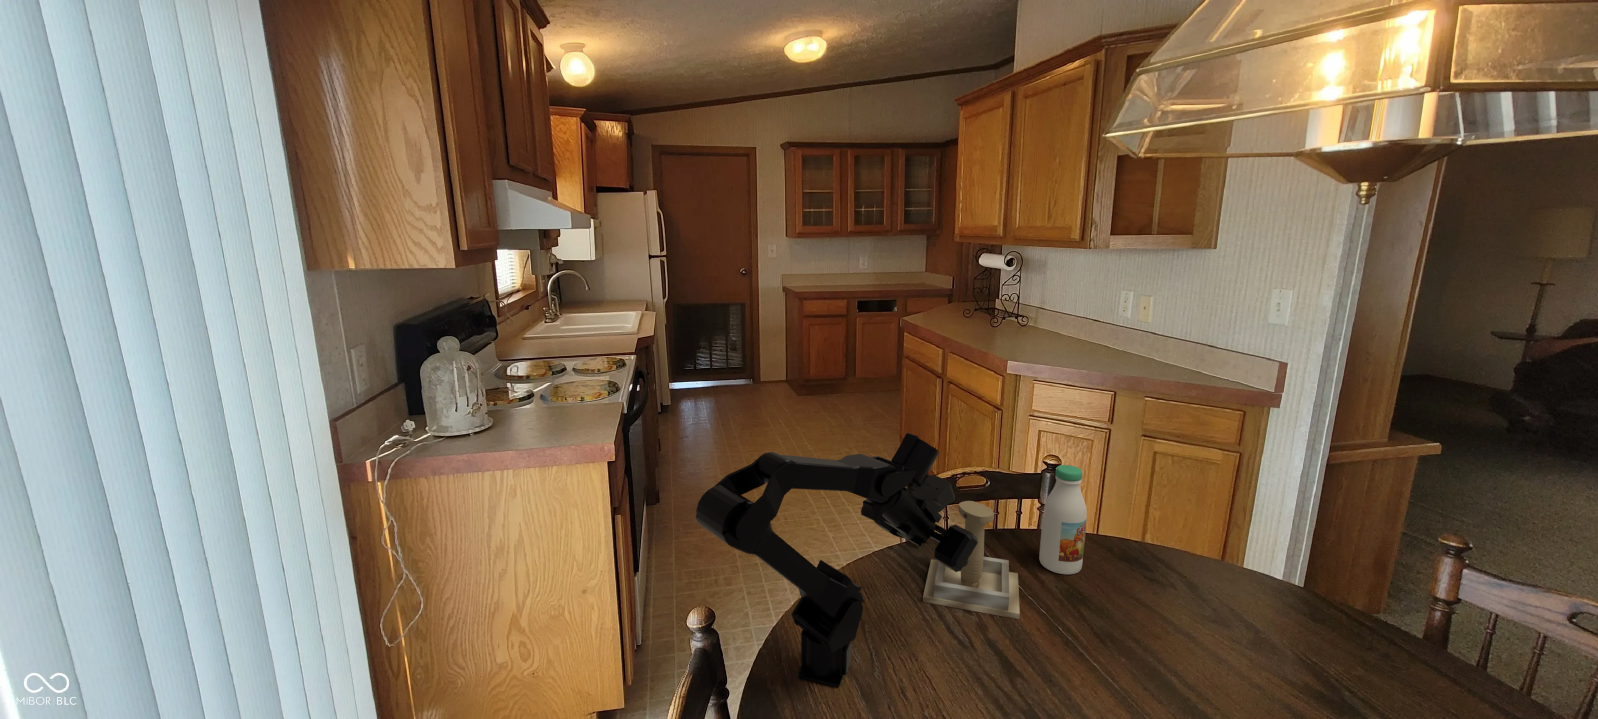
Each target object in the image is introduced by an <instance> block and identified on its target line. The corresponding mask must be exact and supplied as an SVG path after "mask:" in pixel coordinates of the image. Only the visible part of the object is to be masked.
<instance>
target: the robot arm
mask: <svg viewBox="0 0 1598 719" xmlns="http://www.w3.org/2000/svg"><path fill="white" fill-rule="evenodd" d="M939 454H940V452H939V451H938V449H937V448H936V447H934V446H933V445H930V443H928V442H926V441H924V440H923V439H920V437H919V436H918V435H916V434H914V433H910V432H907V433H905V435H904V437H903V439H902V441H901V443H900V445H899V447H898V448H897V450H896V452H895V453H894V455H893V457H892V458H891V460H890V459H887V458H884V457H882V456H878V455H876V456H868V455H866V454H864V453H856V454H849V455H848V454H847V455H845V456H843V457H842V458H839V459H831V458H830V459H828V458H820V457H819V458H818V457H817V458H816V457H808V456H798V455H797V456H796V455H790V454H789V455H787V454H786V455H785V454H780V453H777V452H774V451H771V452H770V451H769V452H764V453H763V454H761V455H759V457H758V458H756V459H755V460H754V461H753V462H752V463H751V464H748V465H746V466H744V467H742V468H740V469H737V470H735V471H733V472H731V473H728V474H726V475H725V476H724V477H723V478H722V479H720V481H719V482H717V483H716V484H715V485H714V486H711V488H709V489H707V490H706V491H705V492H704V493H703V495H702V496H701V497H700V499H699V500H698V502H697V506H696V509H695V510H696V515H695V519H696V522H697V523H698V524H699V526H701V527H702V528H704V530H707V531H708V532H709V533H711V535H714V536H715V537H717V538H718V539H719V540H721V541H722V542H723V543H725V544H726V545H728V546H729V547H731V548H732V549H735V550H738V551H740V552H742V553H745V554H747V555H752V556H756V558H758V559H759V560H761V561H762V562H763V563H765V564H766V565H767V566H769V567H770V568H771V569H773V570H774V571H775V572H777V574H779V575H780V576H781V577H783V578H784V579H785V580H786V581H788V582H790V584H792V585H793V586H794V587H796V588H797V589H798V592H799V596H800V599H799V601H798V602H797V603H796V606H795V607H794V609H793V610H792V612H791V613H790V614H791V615H790V616H791V618H792V621H793V623H794V625H795V626H798V627H799V628H800V629H802V630H801V633H800V666H799V669H798V671H797V673H796V676H797V678H798V679H802V680H805V681H811V682H816V683H819V684H822V685H823V684H824V685H828V686H833V687H835V688H837V687H840V686H841V685H842V682H843V679H844V676H847V674H848V671H849V668H850V667H851V666H850V665H851V648H852V646H851V644H852V642H853V641H855V640H856V637H857V634H858V631H859V626H860V622H861V619H862V615H863V611H864V605H863V602H864V596H863V594H862V593H861V592H860V591H861V590H862V586H860V585H859V584H857V583H855V582H854V581H853V580H852V579H851V578H850V577H849V576H848V575H846V574H845V573H843V572H841V571H840V570H838V569H837V568H835V567H834V566H832V565H830V564H829V563H827V562H825V561H824V560H822V559H819V562H818V564H817V565H816V566H815V565H814V564H813V563H811V562H810V561H809V560H808V559H807V558H806V557H805V556H804V555H802V554H801V553H800V552H798V551H797V550H796V549H795V548H793V546H791V545H790V544H789V543H788V542H786V541H785V540H784V539H783V538H782V537H781V536H780V535H778V534H777V533H776V532H774V530H773V526H772V523H771V522H772V521H773V520H774V519H775V518H776V517H777V515H778V514H779V510H780V507H781V505H782V503H783V500H784V498H785V495H787V494H788V493H789V492H790V491H791V490H793V489H796V490H809V491H810V490H811V491H812V490H813V491H814V490H815V491H831V492H834V491H835V492H848V493H851V494H853V495H856V496H858V497H862V498H864V499H865V500H863V501H862V507H861V508H860V515H861V516H862V517H865V518H867V519H869V520H871V521H873V522H874V523H875V524H876V526H878V527H879V528H881V529H882V530H884V531H886V532H887V533H889V534H891V535H893V536H894V537H897V538H901V539H905V540H908V541H909V542H911V543H912V544H914V545H915V546H918V547H921V546H922V545H923V544H926V543H927V542H928V540H929V539H932V540H934V541H936V542H938V544H937V545H936V547H935V548H934V556H933V558H934V560H938V561H939V562H940V563H941V564H943V565H945V566H946V567H948V568H950V569H951V570H953V571H955V572H958V571H961V569H962V568H963V567H966V565H967V564H968V562H969V561H968V558H969V556H970V555H971V553H972V552H973V550H974V548H975V547H976V545H977V543H978V541H977V538H976V537H975V536H974V535H973V533H971V532H969V531H967V530H965V528H964V527H961V526H960V525H957V524H952V525H950V526H948V529H946V528H944V527H942V526H940V525H938V524H939V522H940V521H941V520H942V518H943V516H942V515H941V514H940V512H942V511H943V510H945V509H946V508H947V506H949V505H950V504H951V503H953V502H954V501H955V500H956V497H955V493H954V490H953V486H952V484H951V482H950V481H949V480H948V479H947V480H946V479H944V478H942V477H940V476H938V475H935V474H929V472H930V471H931V469H932V467H933V466H934V464H935V462H936V461H937V459H938V457H939ZM765 484H766V486H765V489H764V490H763V492H762V494H761V496H760V497H759V498H757V500H756V501H752V500H750V499H749V498H747V497H745V496H743V495H744V494H747V493H749V492H752V491H753V490H755V489H758V488H760V487H762V486H764V485H765ZM907 486H908V487H909V488H910V490H909V489H908V488H907Z"/></svg>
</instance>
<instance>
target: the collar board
mask: <svg viewBox="0 0 1598 719" xmlns="http://www.w3.org/2000/svg"><path fill="white" fill-rule="evenodd" d="M1009 562H1010V560H1007V559H1002V558H995V557H988V556H984V560H983V568H982V574H981V578H980V580H979V581H980V585H979V587H978V588H973V587H968V586H962V582H961V571H958V572H955V571H953V570H951V569H950V568H948V567H946V566H945V565H943V564H941V563H940V562H939V561H938V560H937V559H932V558H931V560H930V564H929V568H928V573H927V576H926V582H925V586H924V590H923V591H924V592H923V596H922V602H923V603H927V604H933V605H940V606H945V607H951V608H955V609H960V610H961V609H962V610H967V611H972V612H976V613H977V612H978V613H981V614H982V613H983V614H988V615H995V616H999V617H1004V618H1011V619H1017V620H1020V613H1021V612H1020V594H1019V592H1020V591H1019V573H1018V572H1011V571H1010V567H1009V566H1010V563H1009Z"/></svg>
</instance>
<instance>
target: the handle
mask: <svg viewBox="0 0 1598 719" xmlns="http://www.w3.org/2000/svg"><path fill="white" fill-rule="evenodd" d="M957 509H958V510H957V511H958V513H959V514H960V516H961V517H962V519H964V522H965V524H964V529H965V530H967V531H969V532H971V533H973V535H974V536H975V537H976V538H977V541H978V543H977V545H976V547H975V548H974V550H973V552H972V553H971V555H970V556H969V558H968V561H969V562H968V564H967V565H966V567H963V568H962V569H961V582H962V586H968V587H973V588H978V587H979V585H980V581H979V580H980V578H981V574H982V568H983V560H984V557H985V527H986V525H987V524H990V523H991V522H993V521H994V518H995V512H994V510H992V509H991V507H988V506H987V505H985V504H983V503H981V502H977V501H973V500H964V501H961V502H959V504H958V508H957Z"/></svg>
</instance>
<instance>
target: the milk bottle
mask: <svg viewBox="0 0 1598 719" xmlns="http://www.w3.org/2000/svg"><path fill="white" fill-rule="evenodd" d="M1082 479H1083V470H1082V469H1081V468H1079V467H1077V466H1074V465H1070V464H1067V465H1066V464H1061V465H1058V466H1056V469H1055V480H1056V481H1055V483H1054V486H1053V488H1052V490H1051V491H1050V493H1049V494H1048V496H1047V499H1046V500H1045V503H1044V506H1043V507H1044V508H1043V513H1042V523H1041V533H1040V544H1039V546H1040V547H1039V555H1038V556H1039V557H1038V558H1039V562H1040V564H1041V565H1042V566H1043V567H1044V568H1045V569H1046V570H1049V571H1051V572H1053V573H1056V574H1061V575H1074V574H1077V573H1079V572H1080V571H1081V570H1082V567H1083V561H1084V560H1083V559H1084V551H1085V543H1086V542H1085V540H1086V533H1087V532H1086V531H1087V519H1088V511H1087V504H1086V502H1085V501H1086V500H1085V499H1084V497H1083V494H1082V490H1081V483H1082V482H1083V481H1082Z"/></svg>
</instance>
